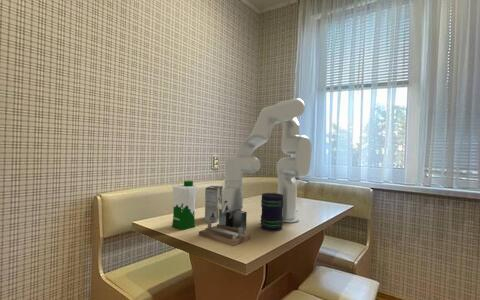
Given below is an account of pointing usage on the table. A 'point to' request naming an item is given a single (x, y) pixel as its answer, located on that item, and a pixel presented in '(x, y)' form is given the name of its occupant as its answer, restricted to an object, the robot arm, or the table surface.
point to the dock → (224, 234)
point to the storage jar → (272, 212)
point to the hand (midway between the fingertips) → (232, 225)
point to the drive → (234, 219)
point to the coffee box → (213, 202)
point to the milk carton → (184, 205)
